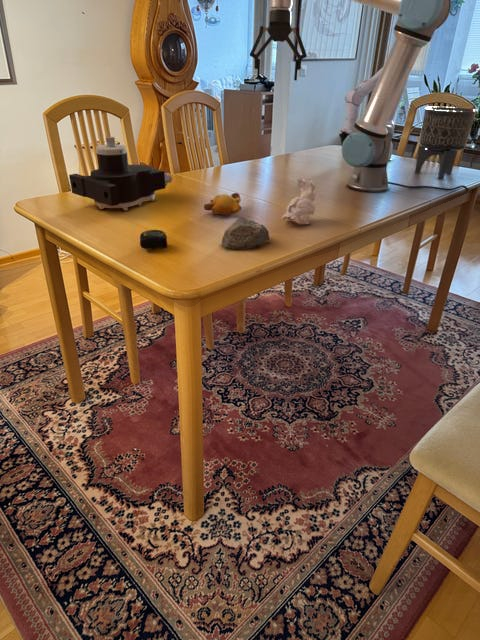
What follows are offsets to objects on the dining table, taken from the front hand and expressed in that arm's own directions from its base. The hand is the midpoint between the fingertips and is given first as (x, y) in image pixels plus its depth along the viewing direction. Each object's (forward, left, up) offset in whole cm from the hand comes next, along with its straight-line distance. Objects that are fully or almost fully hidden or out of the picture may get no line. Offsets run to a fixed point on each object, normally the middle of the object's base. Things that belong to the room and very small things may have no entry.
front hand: (276, 80), depth 166 cm
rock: (+6, +73, -36) cm, 82 cm away
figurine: (-9, +52, -36) cm, 64 cm away
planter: (-72, -22, -36) cm, 83 cm away
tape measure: (+29, +79, -36) cm, 91 cm away
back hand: (-36, -45, -31) cm, 65 cm away
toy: (+14, +45, -36) cm, 59 cm away
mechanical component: (+47, +38, -36) cm, 71 cm away
